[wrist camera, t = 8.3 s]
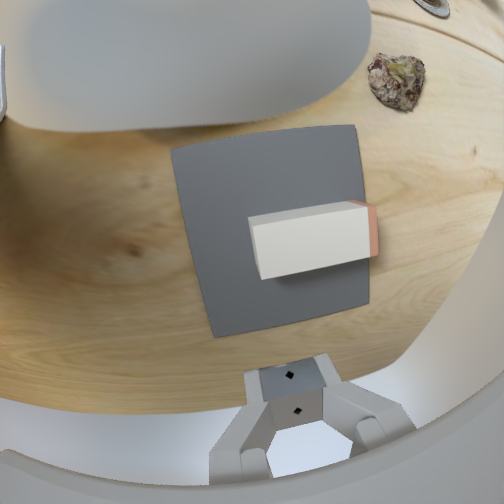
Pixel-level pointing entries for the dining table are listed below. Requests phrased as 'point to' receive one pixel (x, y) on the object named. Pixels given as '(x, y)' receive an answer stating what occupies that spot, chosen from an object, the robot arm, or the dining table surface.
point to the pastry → (440, 11)
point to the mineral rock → (396, 80)
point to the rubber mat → (259, 203)
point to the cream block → (313, 237)
